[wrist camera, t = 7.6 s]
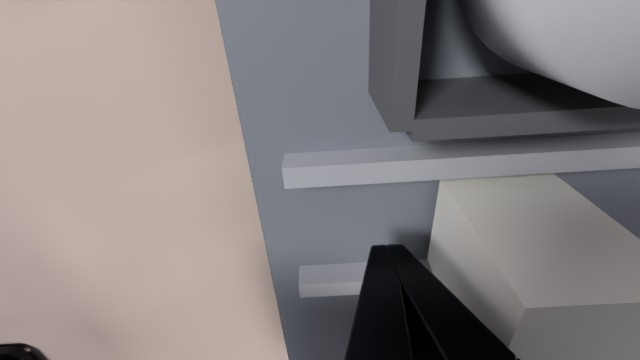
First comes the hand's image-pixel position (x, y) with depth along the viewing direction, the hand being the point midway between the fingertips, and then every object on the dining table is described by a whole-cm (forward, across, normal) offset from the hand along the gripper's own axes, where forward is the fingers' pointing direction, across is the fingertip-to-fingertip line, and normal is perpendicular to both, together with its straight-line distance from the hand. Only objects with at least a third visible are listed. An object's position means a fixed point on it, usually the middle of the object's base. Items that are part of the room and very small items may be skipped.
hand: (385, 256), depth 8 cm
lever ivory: (+1, -3, 0) cm, 3 cm away
